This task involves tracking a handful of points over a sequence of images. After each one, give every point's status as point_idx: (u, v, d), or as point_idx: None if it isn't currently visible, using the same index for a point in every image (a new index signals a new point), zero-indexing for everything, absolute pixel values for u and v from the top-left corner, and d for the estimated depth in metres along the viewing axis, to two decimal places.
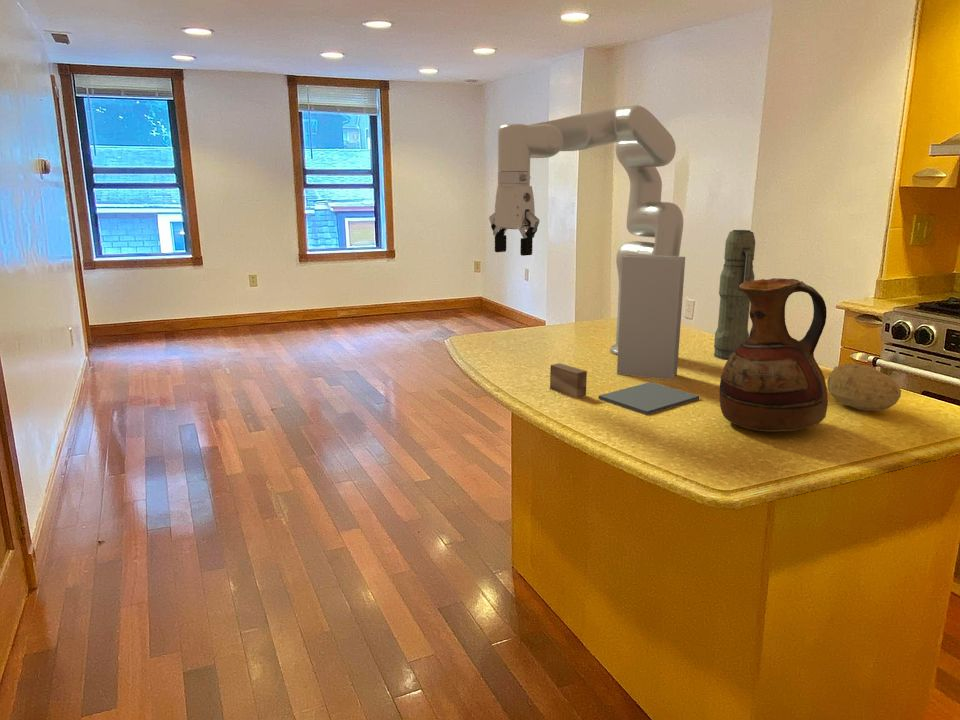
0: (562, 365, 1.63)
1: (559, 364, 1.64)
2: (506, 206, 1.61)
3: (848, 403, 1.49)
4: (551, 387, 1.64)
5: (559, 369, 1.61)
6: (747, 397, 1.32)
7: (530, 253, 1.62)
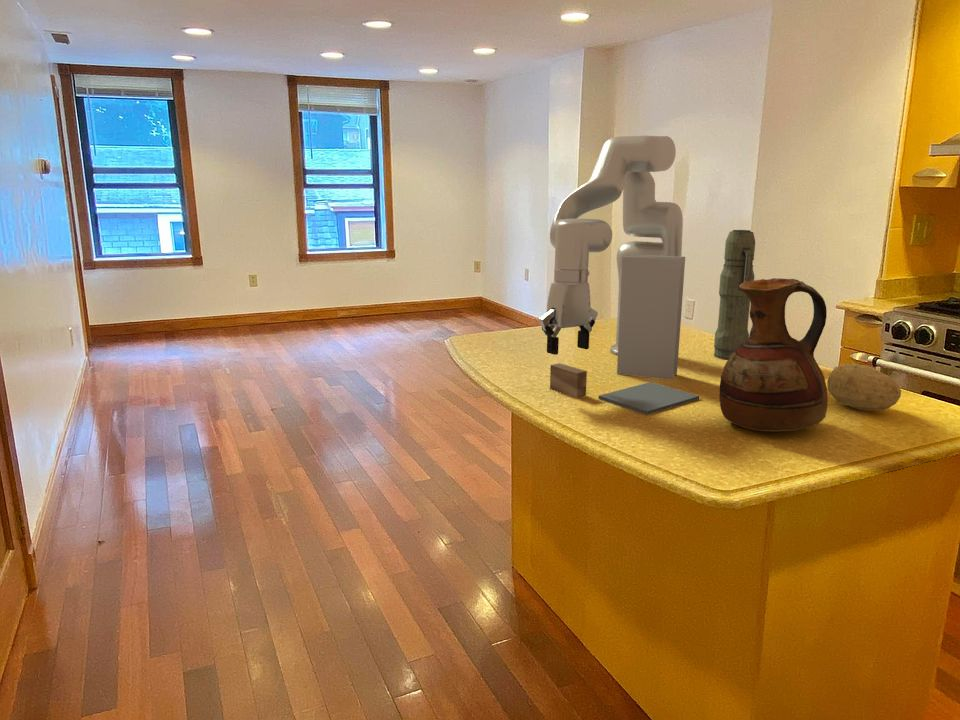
0: (562, 365, 1.63)
1: (559, 364, 1.64)
2: (578, 304, 1.55)
3: (848, 403, 1.49)
4: (551, 387, 1.64)
5: (559, 369, 1.61)
6: (747, 397, 1.32)
7: None
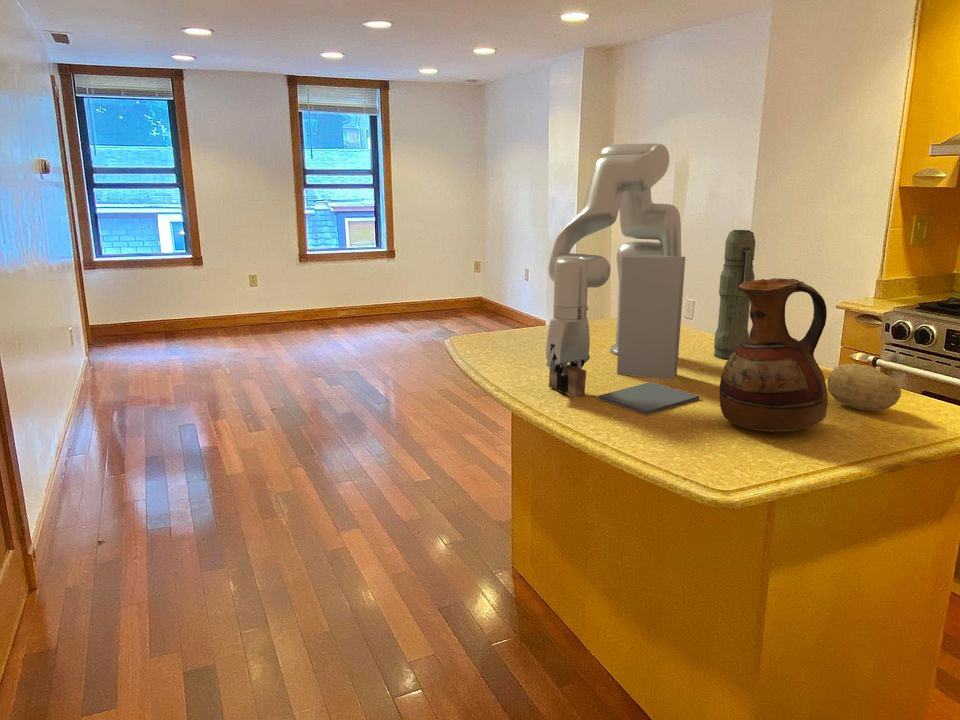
0: None
1: None
2: (578, 340, 1.57)
3: (848, 403, 1.49)
4: (550, 385, 1.65)
5: None
6: (747, 397, 1.32)
7: None
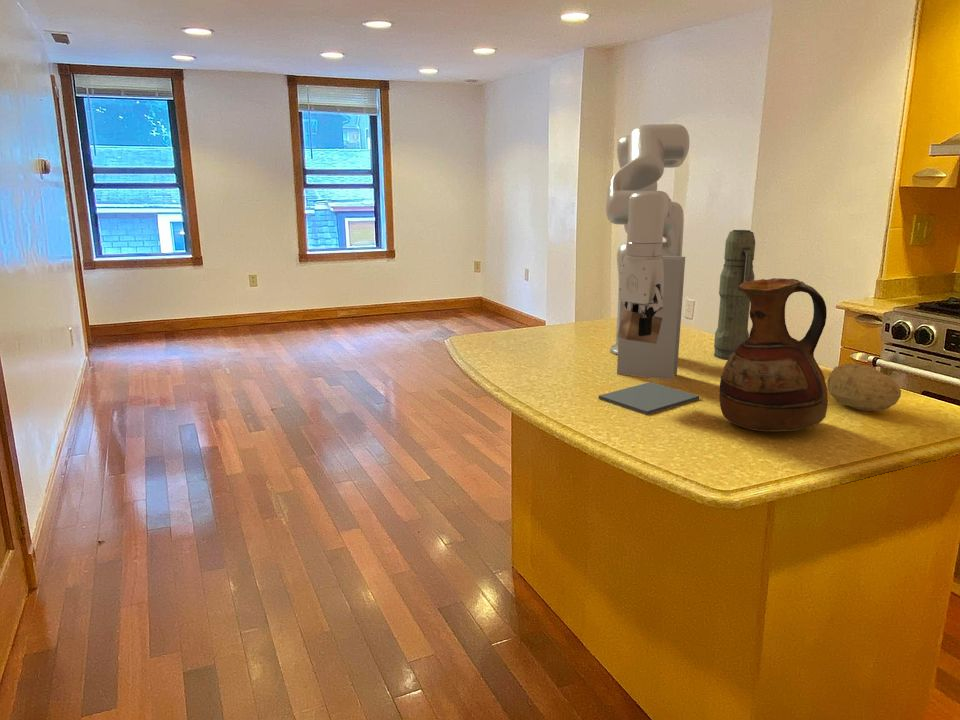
0: (633, 312, 1.52)
1: (629, 311, 1.52)
2: None
3: (848, 403, 1.49)
4: (628, 337, 1.51)
5: None
6: (747, 397, 1.32)
7: None
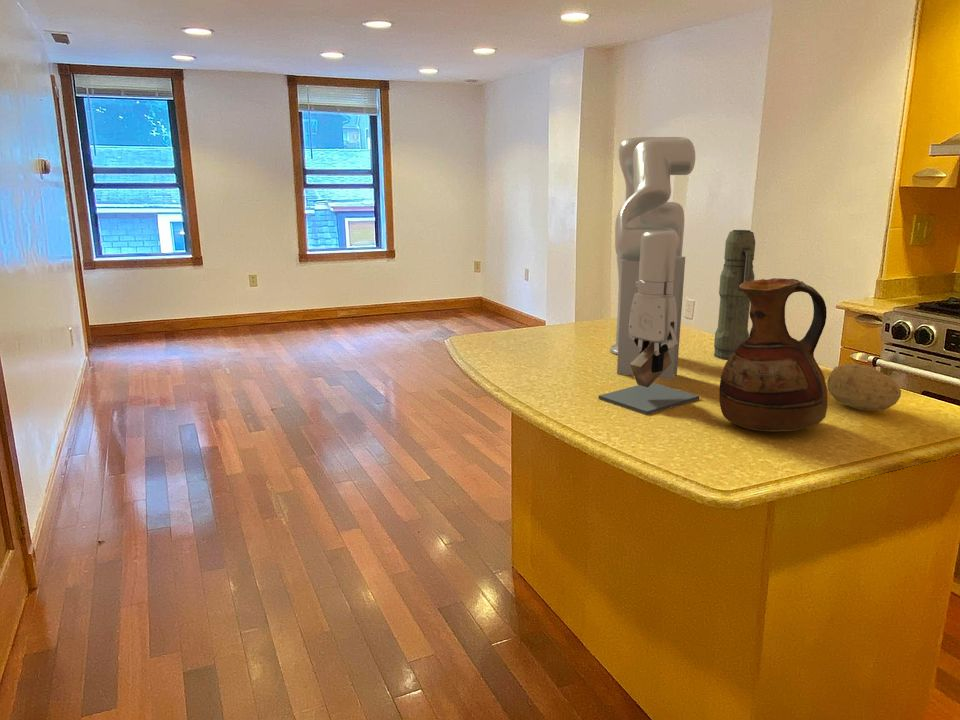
0: (638, 359, 1.53)
1: (635, 362, 1.52)
2: None
3: (848, 403, 1.49)
4: (648, 384, 1.53)
5: (649, 359, 1.52)
6: (747, 397, 1.32)
7: None
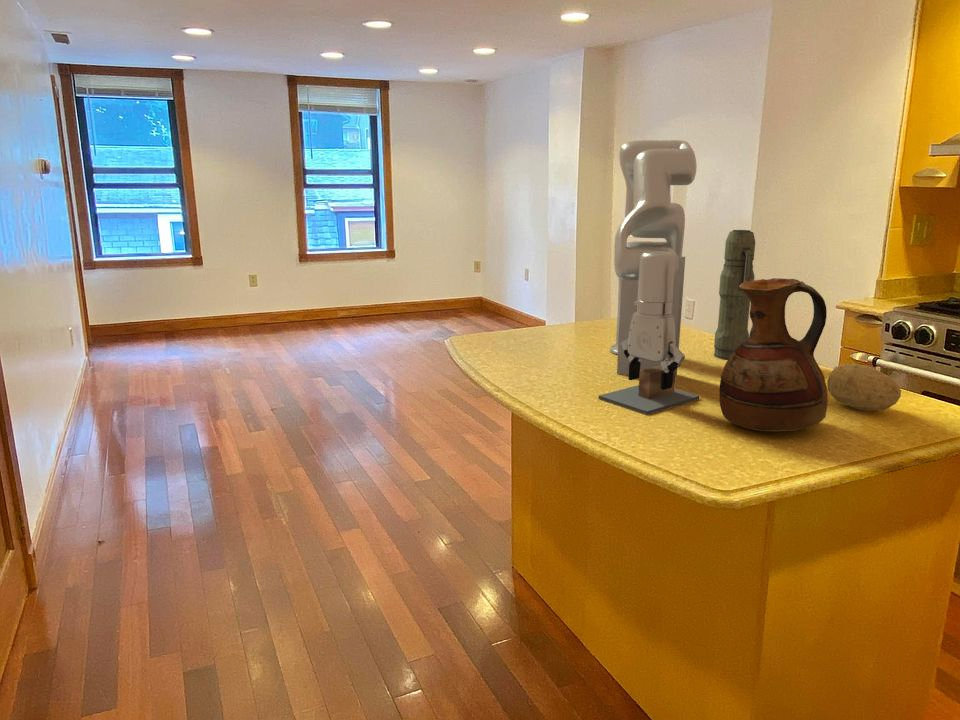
0: (649, 370, 1.55)
1: (645, 370, 1.55)
2: None
3: (848, 403, 1.49)
4: (650, 396, 1.54)
5: (659, 372, 1.55)
6: (747, 397, 1.32)
7: None
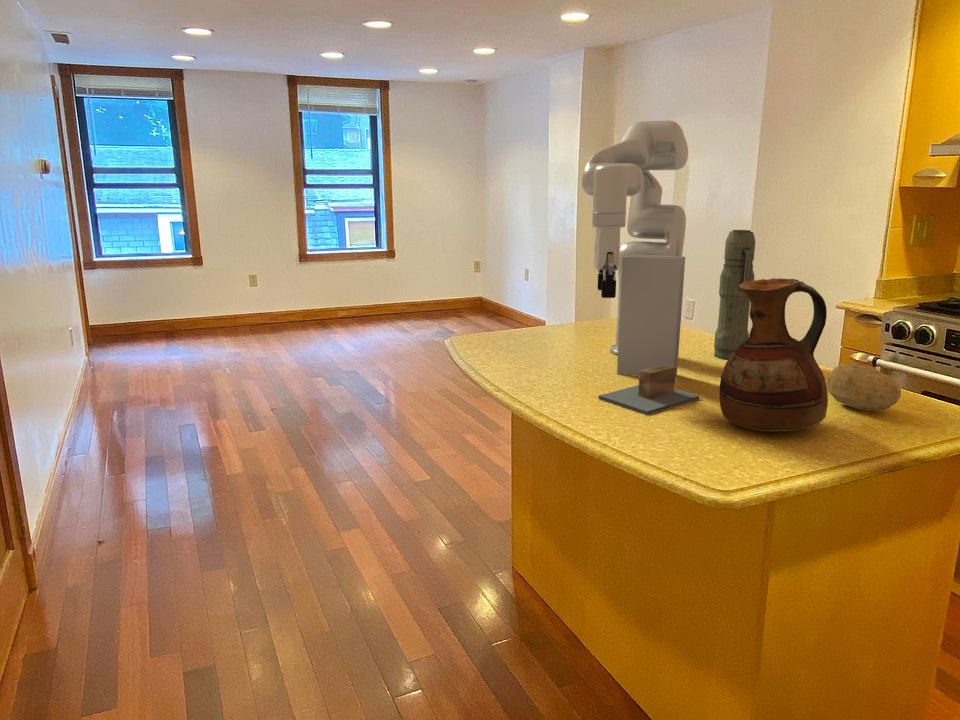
0: (649, 370, 1.55)
1: (645, 370, 1.55)
2: None
3: (848, 403, 1.49)
4: (650, 396, 1.54)
5: (659, 372, 1.55)
6: (747, 397, 1.32)
7: None
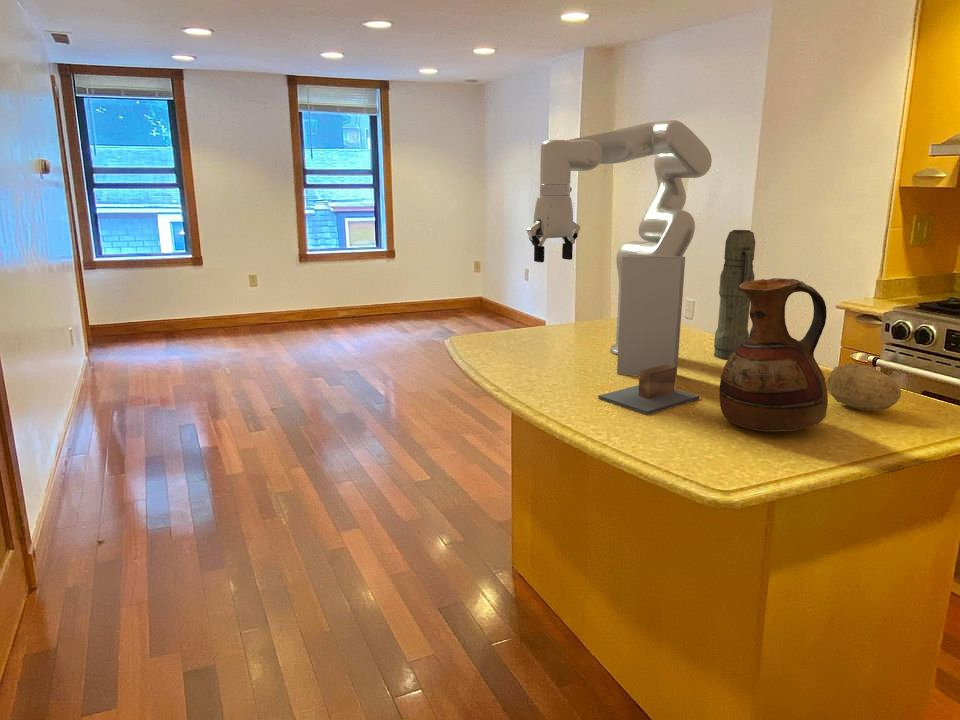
0: (649, 370, 1.55)
1: (645, 370, 1.55)
2: (562, 216, 1.72)
3: (848, 403, 1.49)
4: (650, 396, 1.54)
5: (659, 372, 1.55)
6: (747, 397, 1.32)
7: None
